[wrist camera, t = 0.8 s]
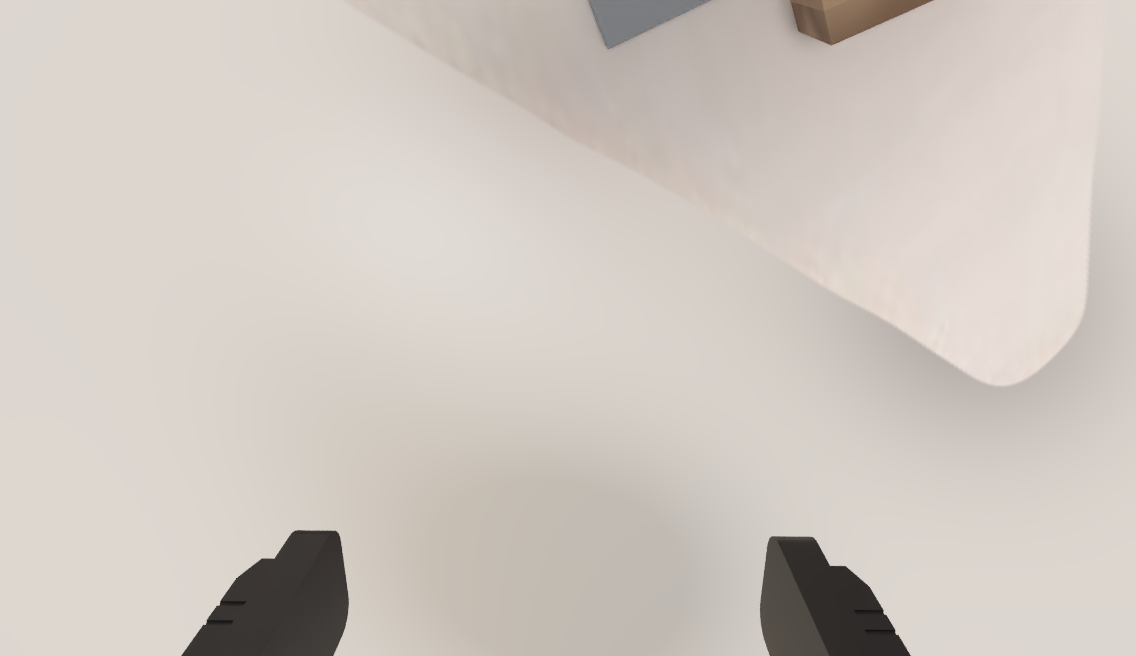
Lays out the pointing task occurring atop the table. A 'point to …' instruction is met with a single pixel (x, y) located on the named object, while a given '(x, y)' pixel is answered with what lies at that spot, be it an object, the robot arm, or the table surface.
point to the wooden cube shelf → (846, 16)
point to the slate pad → (635, 16)
